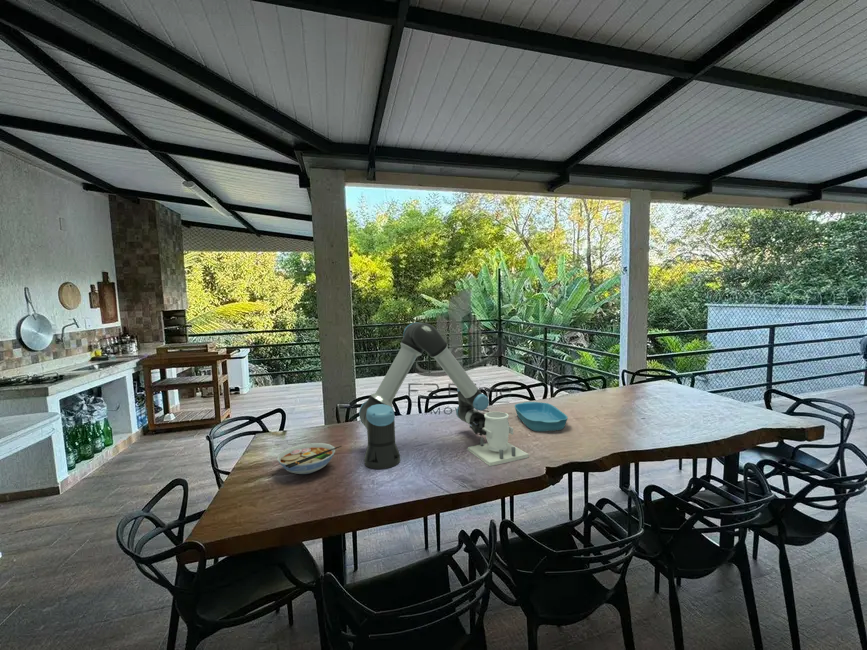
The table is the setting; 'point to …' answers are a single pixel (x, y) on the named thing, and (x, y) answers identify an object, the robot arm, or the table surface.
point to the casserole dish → (541, 416)
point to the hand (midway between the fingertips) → (502, 433)
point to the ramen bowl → (306, 457)
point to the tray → (497, 453)
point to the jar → (497, 430)
